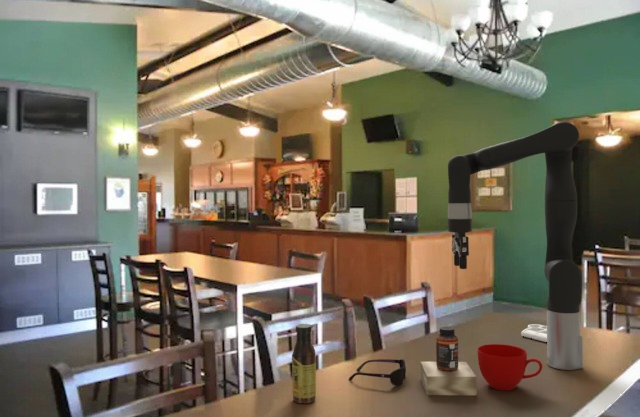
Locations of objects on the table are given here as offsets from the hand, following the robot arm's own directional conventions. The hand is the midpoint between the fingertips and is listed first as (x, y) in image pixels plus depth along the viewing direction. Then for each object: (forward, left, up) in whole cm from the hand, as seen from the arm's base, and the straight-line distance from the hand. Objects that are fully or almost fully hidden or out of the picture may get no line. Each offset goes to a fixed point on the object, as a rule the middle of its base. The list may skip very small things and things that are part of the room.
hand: (460, 267), depth 169 cm
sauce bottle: (+48, +36, -30) cm, 67 cm away
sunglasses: (+28, +18, -31) cm, 45 cm away
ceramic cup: (-8, +25, -30) cm, 40 cm away
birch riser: (+9, +25, -30) cm, 40 cm away
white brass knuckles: (-37, -28, -31) cm, 56 cm away
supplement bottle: (+9, +25, -25) cm, 37 cm away
